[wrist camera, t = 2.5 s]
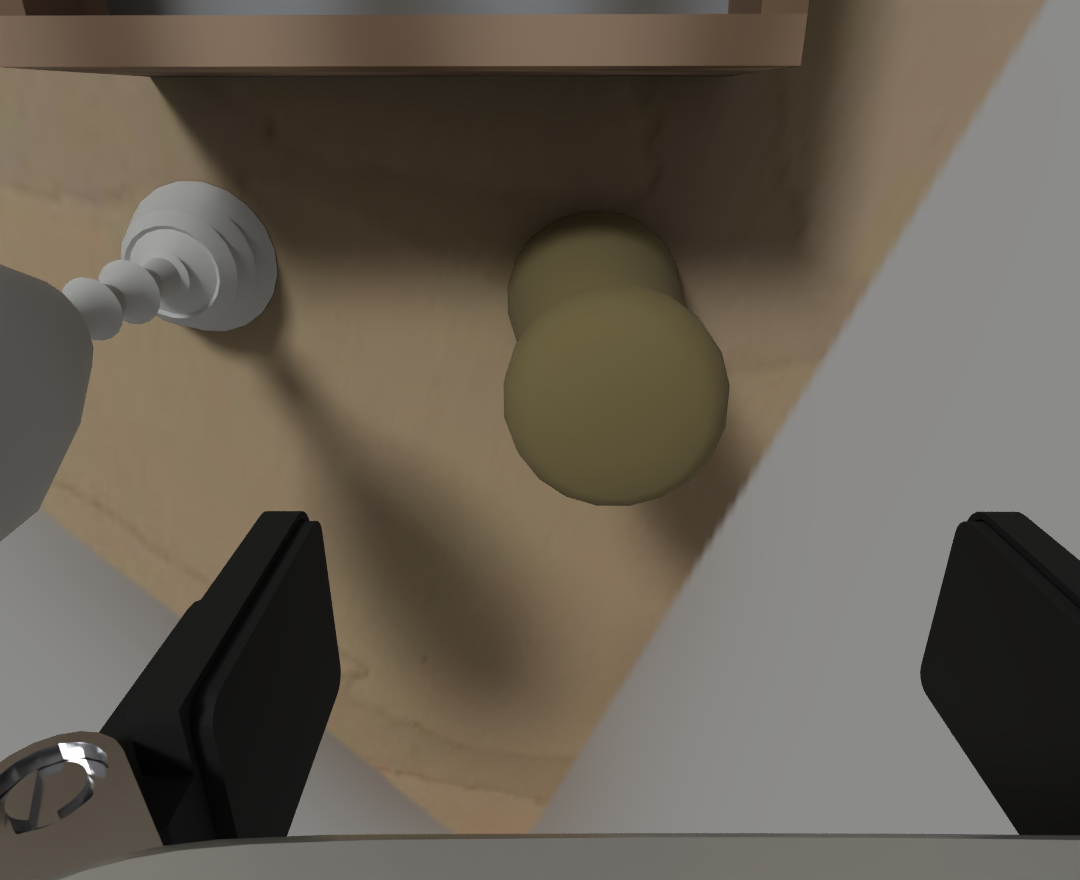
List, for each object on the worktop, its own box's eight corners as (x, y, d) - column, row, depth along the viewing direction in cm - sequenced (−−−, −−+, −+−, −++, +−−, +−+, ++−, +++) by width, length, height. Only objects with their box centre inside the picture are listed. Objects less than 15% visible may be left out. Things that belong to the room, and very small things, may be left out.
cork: (660, 394, 27) (723, 565, 17) (496, 368, 27) (463, 527, 17) (700, 226, 25) (802, 311, 15) (520, 196, 24) (498, 262, 14)
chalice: (66, 159, 24) (-967, 281, 8) (269, 130, 24) (-371, 193, 7) (145, 371, 27) (-479, 786, 11) (326, 349, 27) (-34, 746, 10)
